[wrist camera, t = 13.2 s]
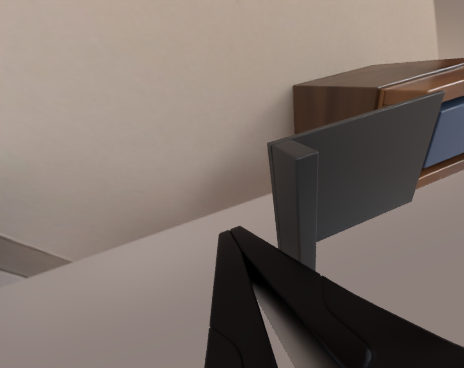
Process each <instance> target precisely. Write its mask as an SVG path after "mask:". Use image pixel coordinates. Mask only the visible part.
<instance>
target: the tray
mask: <svg viewBox="0 0 464 368" xmlns="http://www.w3.org/2000/svg"><path fill="white" fill-rule="evenodd" d="M436 91H445V94H444V98H443V101H442V102H445V101H448V100H451V99H454V98H457V97H460V96H463V95H464V66H462V67H458V68H454V69H451V70H447V71H444V72H440V73H437V74H433V75H430V76H426V77H423V78H419V79H416V80H412V81H409V82H405V83H402V84H398V85H394V86H391V87H387V88H384V89H381V91H380V97H379V103H378V109H380V108H384V107H387V106H390V105H393V104H397V103H400V102H403V101H406V100H410V99H413V98H416V97H420V96H423V95H426V94H429V93H433V92H436ZM461 170H464V153H461V154H459V155H456V156H454V157H451V158H449V159H446V160H444V161H441V162H439V163H436V164H434V165H431V166H429V167H426V168H422V169H421V173H420V176H419V179H418V182H417V186H416V189H418V188H420V187H423V186H425V185H428V184H430V183H432V182H435V181H437V180H440V179H442V178H445V177H447V176H449V175H451V174H454V173H457V172H459V171H461ZM416 189H415V190H416Z"/></svg>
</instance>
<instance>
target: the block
mask: <svg viewBox="0 0 464 368" xmlns="http://www.w3.org/2000/svg"><path fill="white" fill-rule="evenodd" d="M461 153H464V95H463V96H460V97H457V98H454V99H451V100H448V101H445V102H442V104H441V107H440V111H439V114H438V117H437V120H436V124H435V127H434V130H433V133H432V137H431V140H430V143H429V146H428V150H427V153H426V156H425V160H424V163H423V166H422V168H426V167H429V166H431V165H434V164H436V163H439V162H441V161H444V160H446V159H449V158H451V157H454V156H456V155H459V154H461Z"/></svg>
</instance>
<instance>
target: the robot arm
mask: <svg viewBox="0 0 464 368" xmlns="http://www.w3.org/2000/svg"><path fill="white" fill-rule="evenodd" d="M256 298H257V299H256ZM257 300H258V302H259V304H260V306H261V307H262V309H263V311H264V313H265V314H266V316H267V318H268V320H269V322H270V324H271V325H272V327H273V329H274V331H275V333H276V334H277V336H278V338H279V340H280V341H281V343H282V345H283V347H284V349H285V351H286V352H287V354H288V356H289V358H290V359H291V361H292V363H293V365H294V367H295V368H464V347H462V346H460V345H457V344H455V343H453V342H450V341H448V340H446V339H444V338H442V337H440V336H438V335H435V334H434V333H431V332H430V331H427V330H425V329H423V328H421V327H419V326H417V325H415V324H413V323H411V322H409V321H407V320H405V319H403V318H401V317H399V316H397V315H395V314H393V313H391V312H389V311H387V310H385V309H383V308H380V307H378V306H377V305H374V304H373V303H371V302H369V301H367V300H365V299H363V298H361V297H359V296H357V295H355V294H353V293H352V292H350V291H348V290H346V289H345V288H343V287H341V286H339V285H338V284H336V283H334V282H332V281H331V280H329V279H327V278H326V277H324V276H320V274H319V273H317V272H316V271H314V270H312V269H311V268H309V267H307V266H306V265H304V264H303V263H301V262H299V261H298V260H296V259H294V258H293V257H291V256H289V255H288V254H286V253H284V252H283V251H281V250H279V249H278V248H276V247H274V246H273V245H271V244H269V243H268V242H266V241H264V240H263V239H261V238H259V237H258V236H256V235H254V234H253V233H251V232H249V231H248V230H246V229H244V228H243V227H241V226H238V227H235V228H232V229H231V230H230V231H229V230H227V231H225V232H222V233H220V234H219V238H218V247H217V257H216V267H215V277H214V286H213V296H212V306H211V316H210V328H209V334H208V343H207V351H206V358H205V367H204V368H278V366H277V363H276V360H275V357H274V353H273V350H272V347H271V344H270V341H269V338H268V334H267V331H266V328H265V325H264V321H263V318H262V315H261V312H260V309H259V305H258V302H257Z"/></svg>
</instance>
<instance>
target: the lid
mask: <svg viewBox="0 0 464 368" xmlns="http://www.w3.org/2000/svg"><path fill="white" fill-rule="evenodd" d="M444 94H445V91H436V92H433V93H429V94H426V95H423V96H420V97H416V98H413V99H410V100H406V101H403V102H400V103H397V104H393V105H390V106H387V107H384V108H380V109H377V110H374V111H370V112H367V113H364V114H361V115H357V116H354V117H351V118H348V119H344V120H341V121H338V122H334V123H331V124H328V125H325V126H321V127H318V128H315V129H312V130H308V131H305V132H302V133H298V134H295V135H292V136H289V137H285V138H282V139H279V140H276V141H272V142H269V143H267V146H268V155H269V165H270V174H271V184H272V193H273V202H274V212H275V221H276V231H277V241H278V249H279V250H281V251H283V252H284V253H286V254H288V255H289V256H291V257H293V258H294V259H296V260H298V261H299V262H301V263H303V264H304V265H306V266H307V267H309V268H311V269H312V270H314V271H315V269H316V242H318V241H320V240H323V239H325V238H327V237H330V236H332V235H334V234H337V233H339V232H341V231H344V230H346V229H348V228H351V227H353V226H355V225H357V224H360V223H362V222H365V221H367V220H369V219H372V218H374V217H376V216H379V215H380V214H383V213H386V212H388V211H390V210H393V209H395V208H397V207H400V206H402V205H404V204H406V203H409V202H411V201H412V198H413V195H414V192H415V189H416V186H417V182H418V179H419V176H420V173H421V169H422V166H423V163H424V160H425V156H426V153H427V150H428V146H429V143H430V140H431V137H432V133H433V130H434V127H435V124H436V120H437V117H438V114H439V111H440V107H441V104H442V101H443V98H444Z"/></svg>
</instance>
